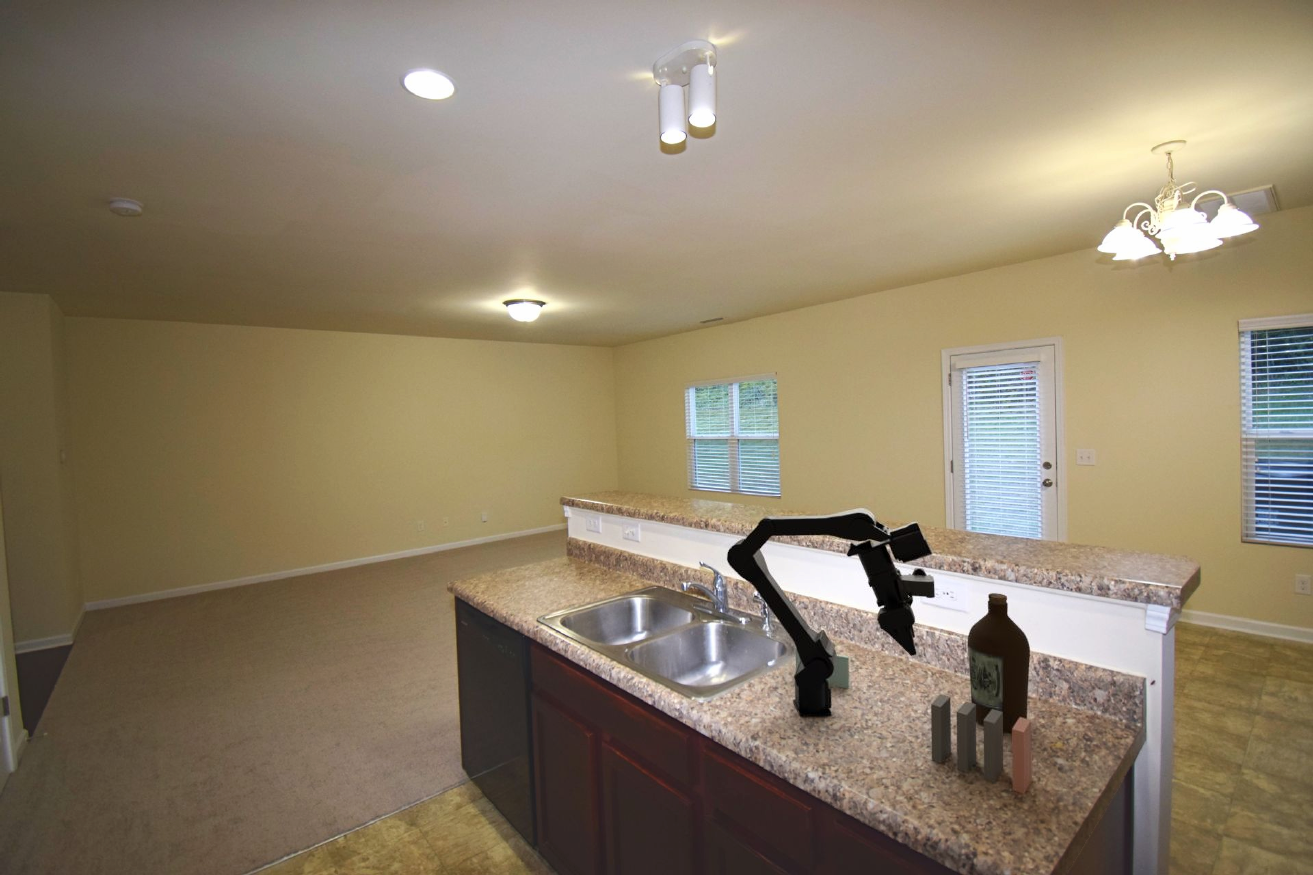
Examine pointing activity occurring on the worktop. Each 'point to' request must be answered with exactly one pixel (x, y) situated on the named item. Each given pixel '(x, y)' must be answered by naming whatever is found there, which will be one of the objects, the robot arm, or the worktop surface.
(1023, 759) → the domino
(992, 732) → the domino
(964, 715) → the domino
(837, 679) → the right angle wall
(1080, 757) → the worktop surface
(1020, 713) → the olive oil
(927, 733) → the worktop surface
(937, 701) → the domino
